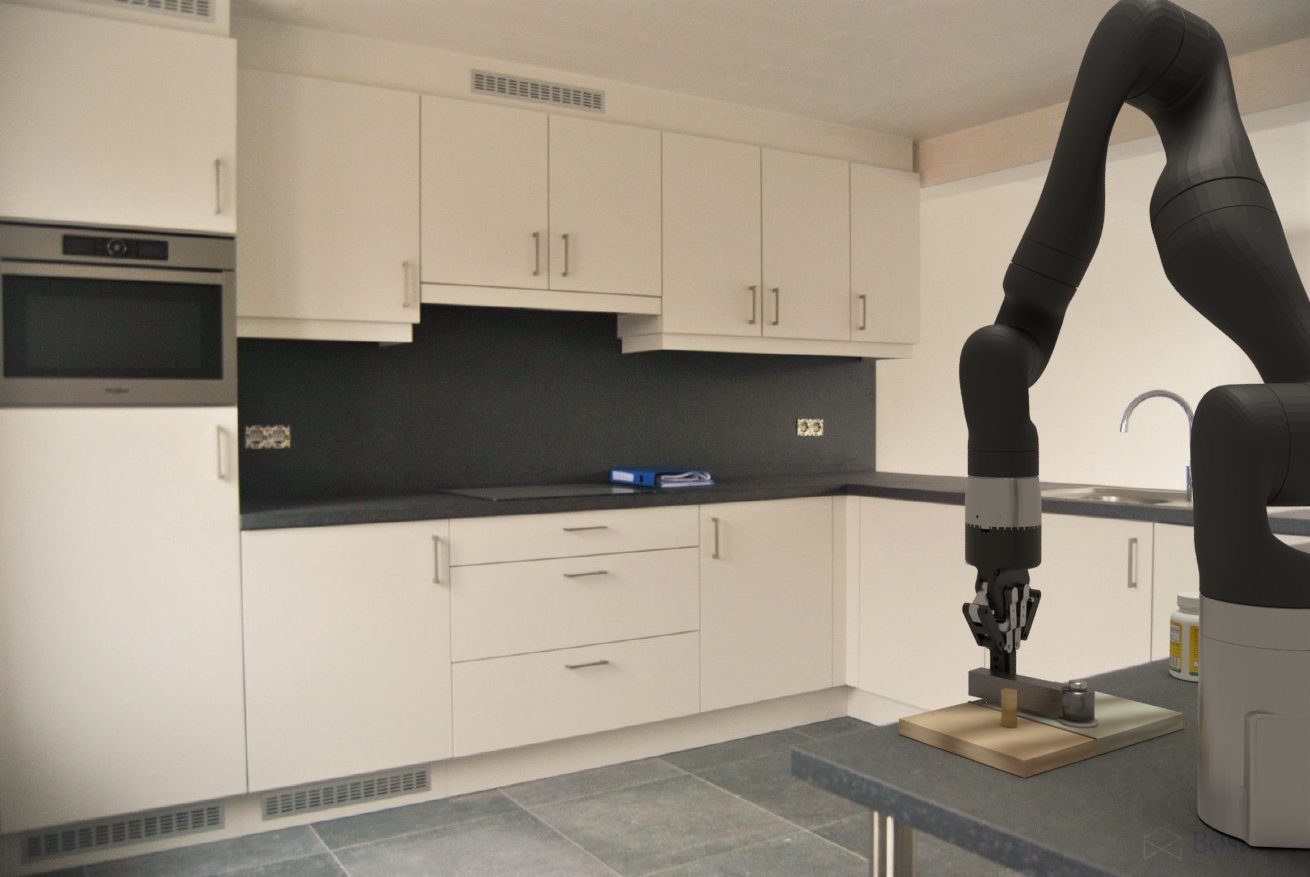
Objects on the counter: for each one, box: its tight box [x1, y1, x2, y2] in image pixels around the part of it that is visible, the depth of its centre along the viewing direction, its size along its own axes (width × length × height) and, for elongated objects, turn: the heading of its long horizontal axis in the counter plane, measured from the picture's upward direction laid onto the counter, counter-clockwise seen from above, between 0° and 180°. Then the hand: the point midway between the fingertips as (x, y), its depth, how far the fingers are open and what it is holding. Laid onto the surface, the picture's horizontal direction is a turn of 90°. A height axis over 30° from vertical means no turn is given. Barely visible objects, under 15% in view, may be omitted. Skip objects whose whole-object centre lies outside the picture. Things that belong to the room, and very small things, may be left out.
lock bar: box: [967, 666, 1096, 721], centre depth 103 cm, size 12×3×3 cm, turn 42°
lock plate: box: [898, 680, 1184, 779], centre depth 102 cm, size 14×24×5 cm, turn 123°
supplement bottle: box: [1168, 591, 1200, 683], centre depth 121 cm, size 5×5×10 cm
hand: (1002, 685), depth 109 cm, fingers closed
